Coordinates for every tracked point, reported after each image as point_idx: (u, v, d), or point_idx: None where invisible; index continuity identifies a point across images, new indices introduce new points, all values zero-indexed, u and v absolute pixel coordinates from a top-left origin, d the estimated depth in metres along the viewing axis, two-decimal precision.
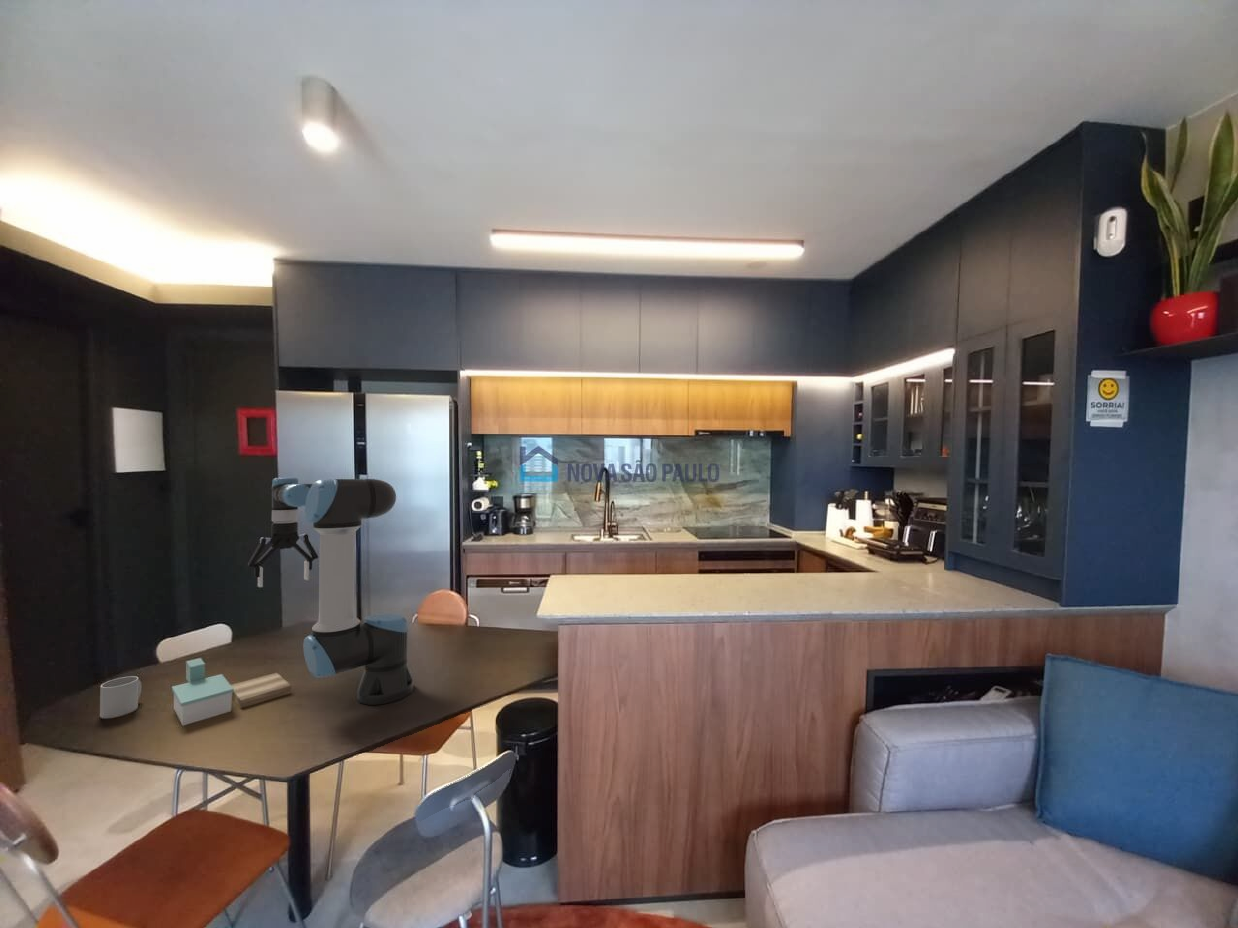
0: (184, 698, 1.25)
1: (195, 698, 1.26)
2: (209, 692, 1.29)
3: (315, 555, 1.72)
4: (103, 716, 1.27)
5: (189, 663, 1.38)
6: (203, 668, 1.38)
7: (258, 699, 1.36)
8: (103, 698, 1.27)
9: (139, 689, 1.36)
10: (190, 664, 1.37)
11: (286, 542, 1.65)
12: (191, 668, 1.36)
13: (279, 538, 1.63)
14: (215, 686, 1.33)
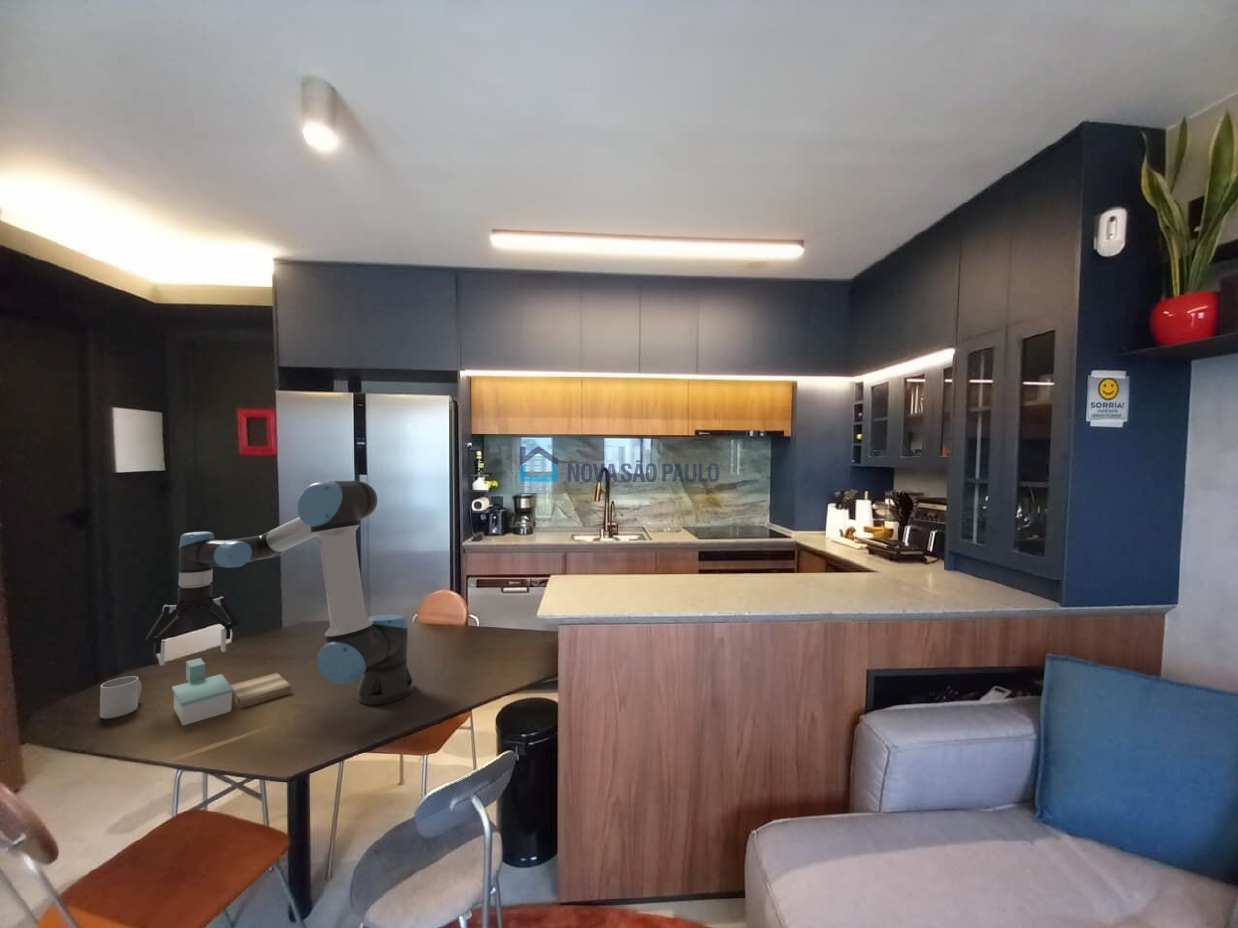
0: (184, 698, 1.25)
1: (195, 698, 1.26)
2: (209, 692, 1.29)
3: (234, 621, 1.46)
4: (103, 716, 1.27)
5: (189, 663, 1.38)
6: (203, 668, 1.38)
7: (258, 699, 1.36)
8: (103, 698, 1.27)
9: (139, 689, 1.36)
10: (190, 664, 1.37)
11: (196, 609, 1.40)
12: (191, 668, 1.36)
13: (187, 605, 1.38)
14: (215, 686, 1.33)
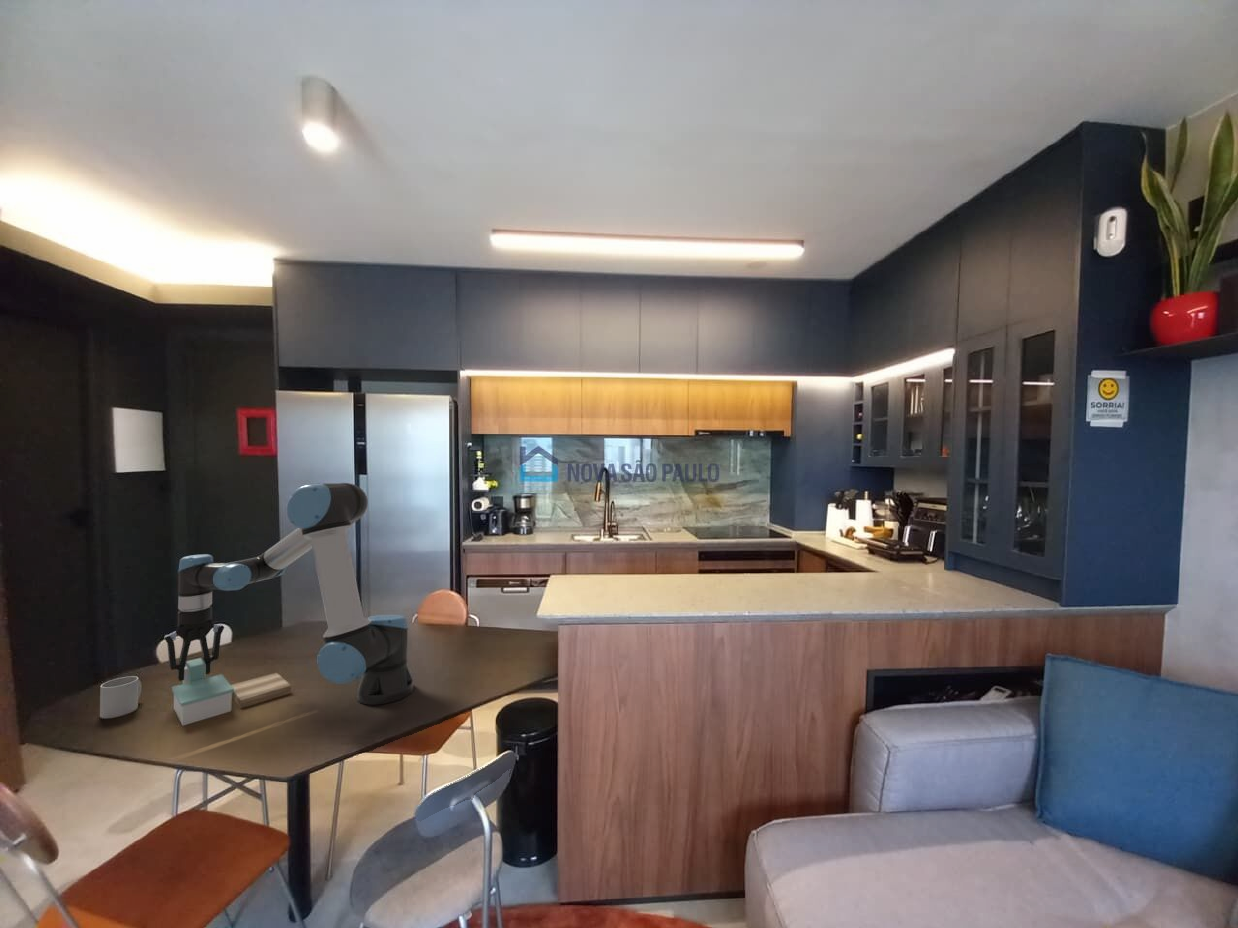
0: (184, 698, 1.25)
1: (195, 698, 1.26)
2: (209, 692, 1.29)
3: (216, 655, 1.43)
4: (103, 716, 1.27)
5: (189, 663, 1.38)
6: (203, 668, 1.38)
7: (258, 699, 1.36)
8: (103, 698, 1.27)
9: (139, 689, 1.36)
10: (190, 664, 1.37)
11: (196, 632, 1.40)
12: (191, 668, 1.36)
13: (186, 627, 1.38)
14: (215, 686, 1.33)
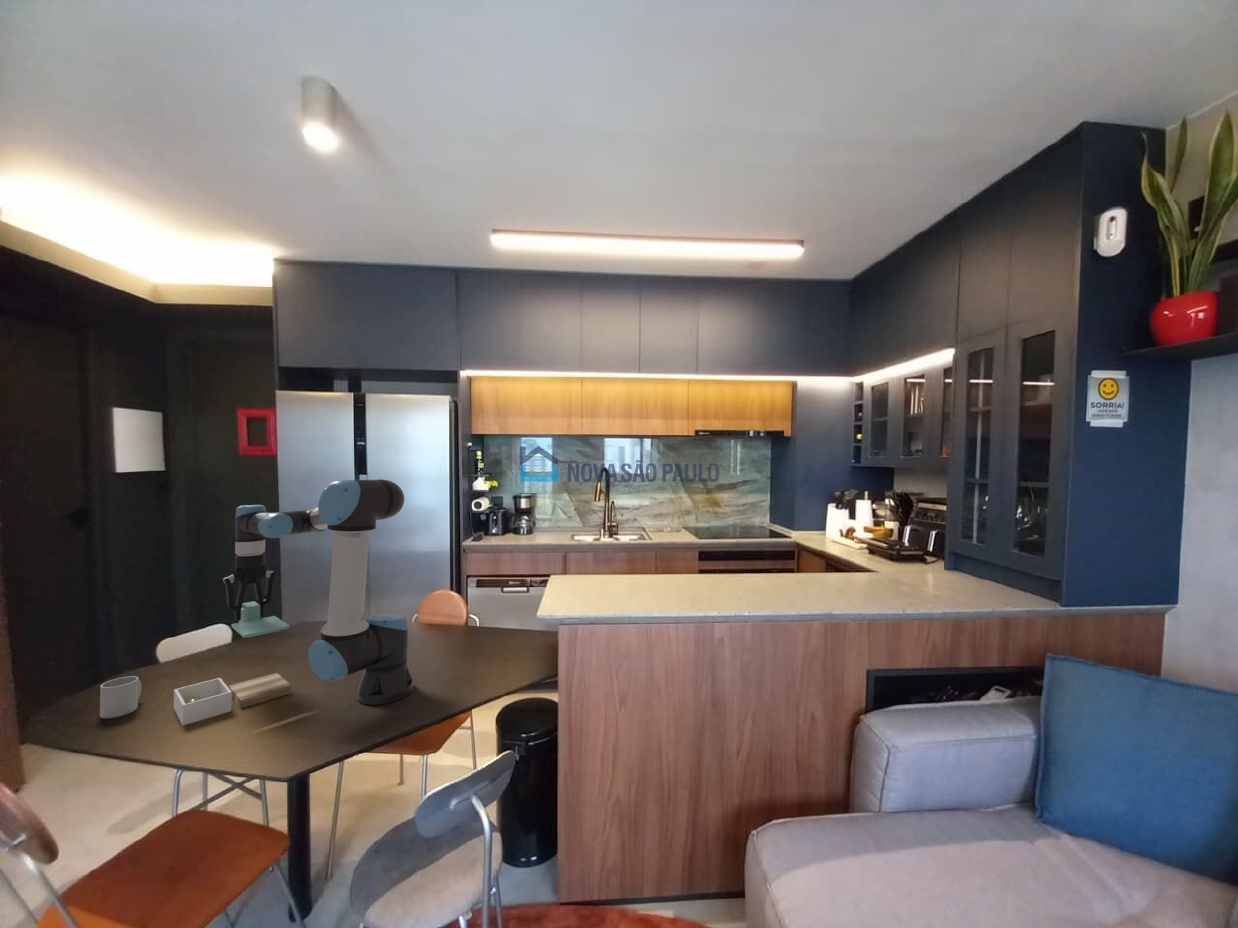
0: (246, 631, 1.36)
1: (256, 631, 1.36)
2: (267, 627, 1.39)
3: (268, 599, 1.53)
4: (103, 716, 1.27)
5: (245, 604, 1.48)
6: (258, 609, 1.48)
7: (258, 699, 1.36)
8: (103, 698, 1.27)
9: (139, 689, 1.36)
10: (246, 605, 1.47)
11: (252, 576, 1.50)
12: (248, 608, 1.46)
13: (242, 571, 1.48)
14: (271, 624, 1.43)
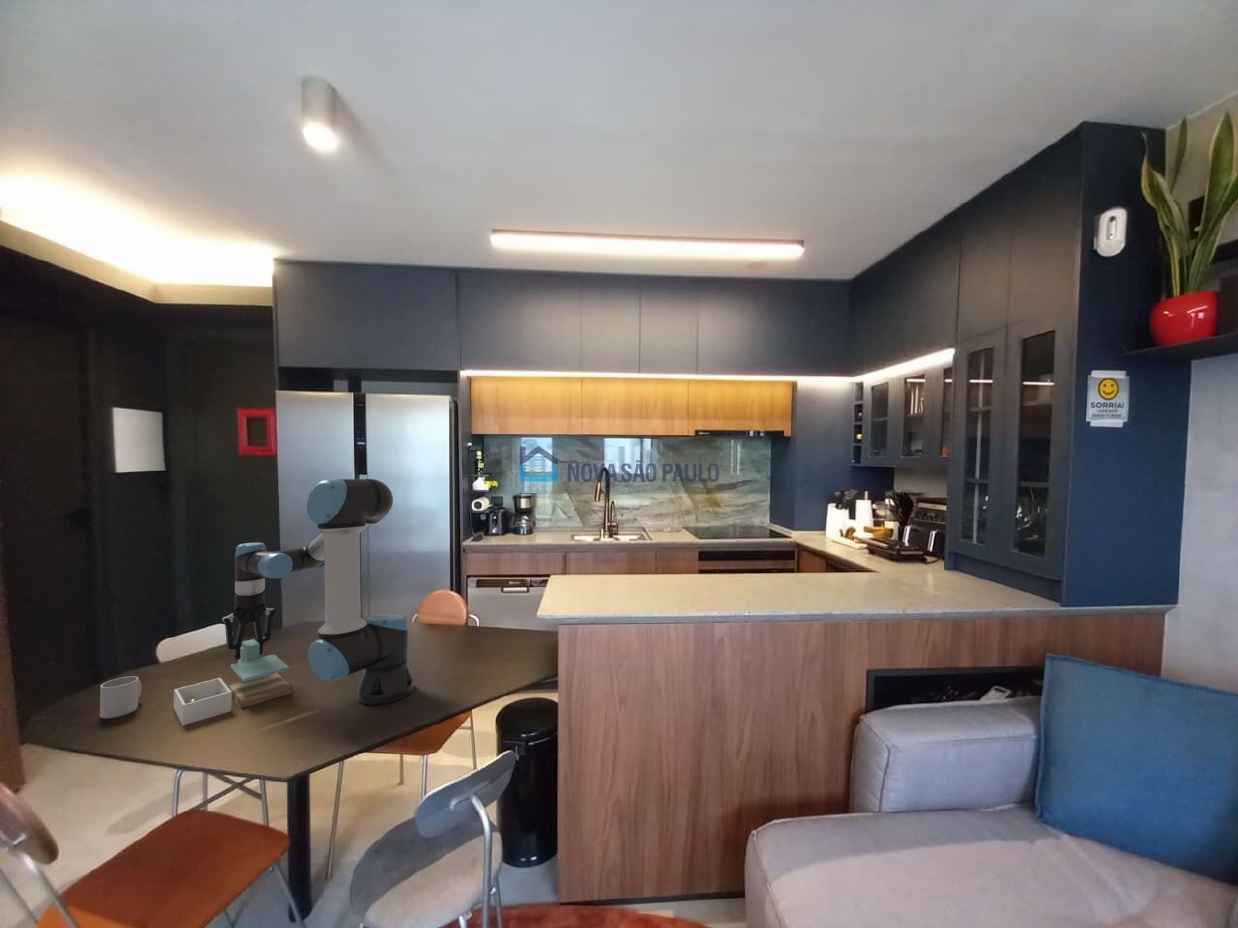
0: (245, 674, 1.35)
1: (255, 674, 1.36)
2: (267, 669, 1.39)
3: (268, 636, 1.53)
4: (103, 716, 1.27)
5: (245, 643, 1.48)
6: (258, 648, 1.48)
7: (258, 699, 1.36)
8: (103, 698, 1.27)
9: (139, 689, 1.36)
10: (246, 644, 1.47)
11: (251, 615, 1.50)
12: (247, 648, 1.46)
13: (242, 610, 1.48)
14: (271, 664, 1.43)
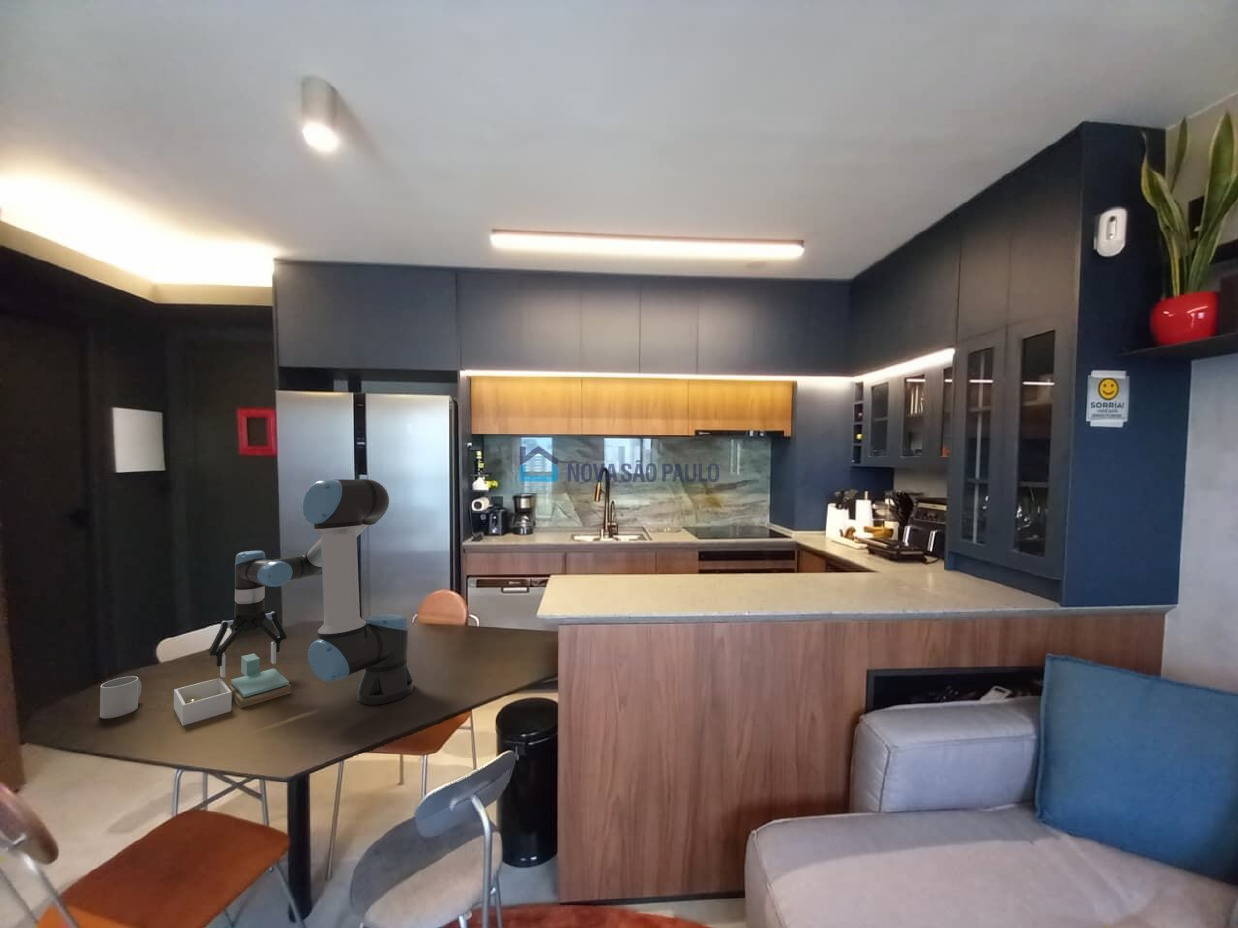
0: (245, 690, 1.35)
1: (255, 690, 1.36)
2: (267, 684, 1.39)
3: (283, 635, 1.56)
4: (103, 716, 1.27)
5: (245, 658, 1.48)
6: (258, 662, 1.48)
7: (258, 699, 1.36)
8: (103, 698, 1.27)
9: (139, 689, 1.36)
10: (246, 659, 1.47)
11: (251, 623, 1.50)
12: (247, 662, 1.46)
13: (243, 620, 1.48)
14: (271, 679, 1.43)
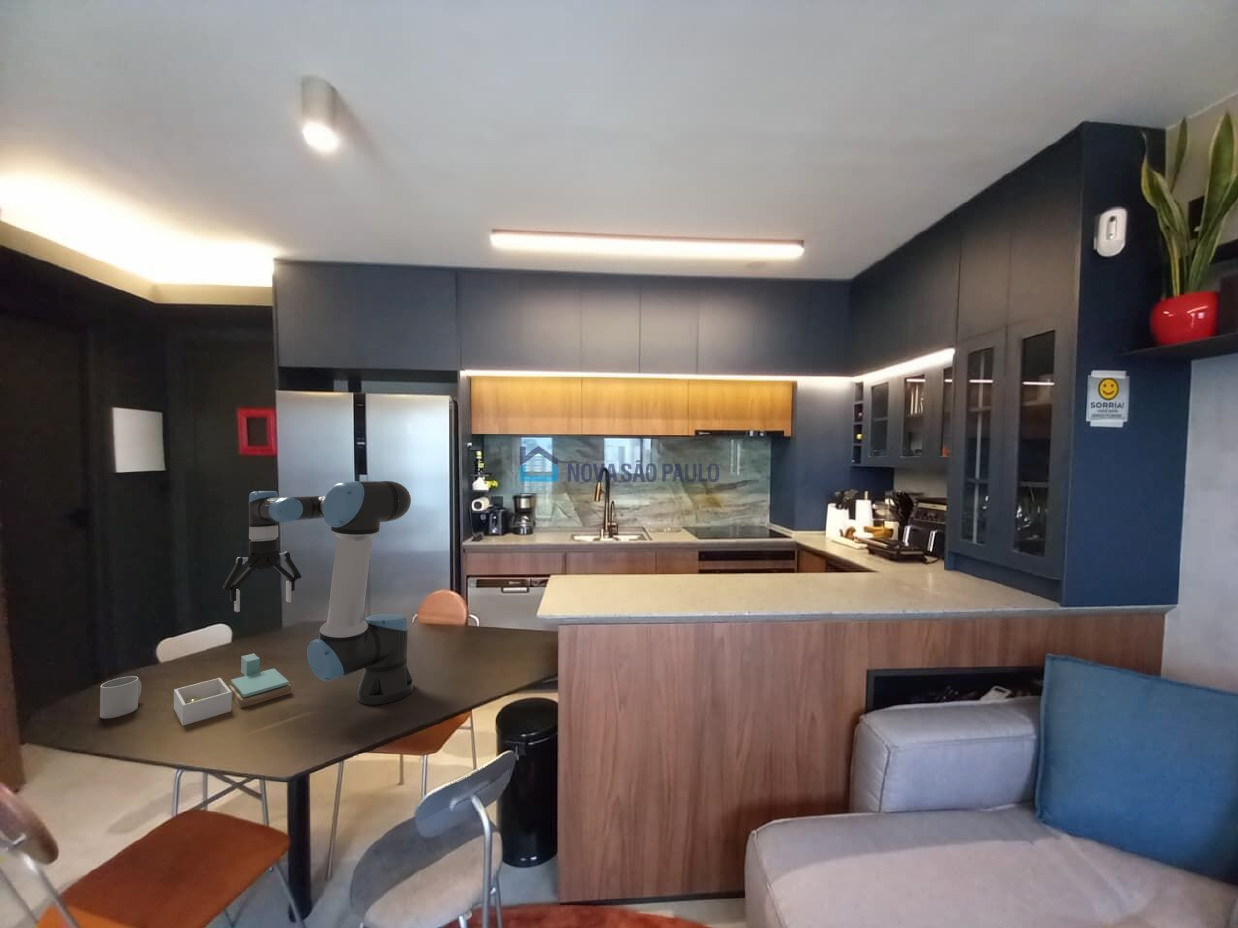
0: (245, 690, 1.35)
1: (255, 690, 1.36)
2: (267, 684, 1.39)
3: (298, 575, 1.58)
4: (103, 716, 1.27)
5: (245, 658, 1.48)
6: (258, 662, 1.48)
7: (258, 699, 1.36)
8: (103, 698, 1.27)
9: (139, 689, 1.36)
10: (246, 659, 1.47)
11: (265, 561, 1.51)
12: (247, 662, 1.46)
13: (258, 557, 1.50)
14: (271, 679, 1.43)
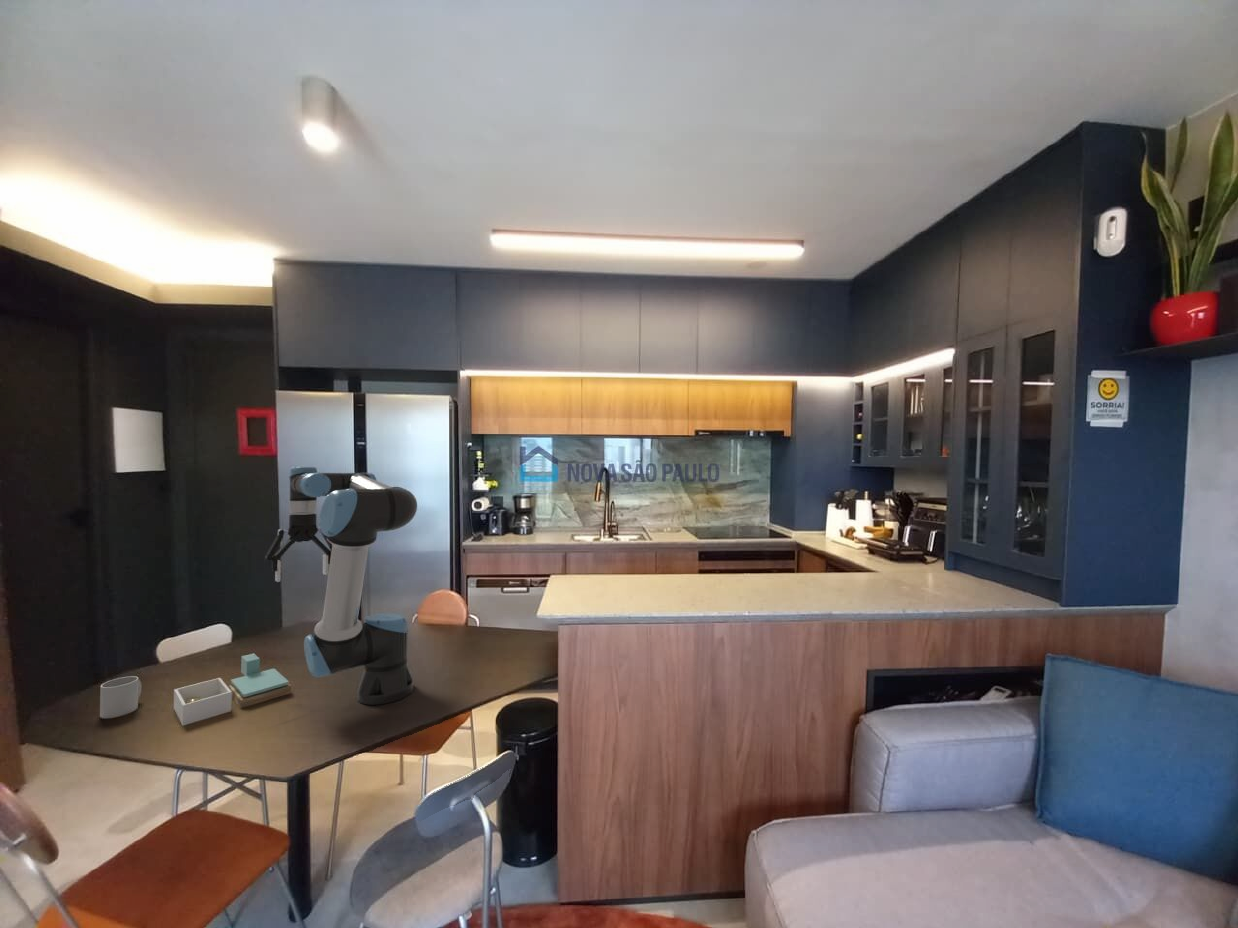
0: (245, 690, 1.35)
1: (255, 690, 1.36)
2: (267, 684, 1.39)
3: None
4: (103, 716, 1.27)
5: (245, 658, 1.48)
6: (258, 662, 1.48)
7: (258, 699, 1.36)
8: (103, 698, 1.27)
9: (139, 689, 1.36)
10: (246, 659, 1.47)
11: (304, 534, 1.57)
12: (247, 662, 1.46)
13: (297, 530, 1.55)
14: (271, 679, 1.43)
